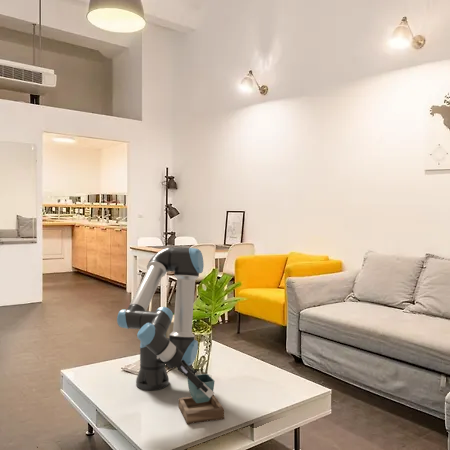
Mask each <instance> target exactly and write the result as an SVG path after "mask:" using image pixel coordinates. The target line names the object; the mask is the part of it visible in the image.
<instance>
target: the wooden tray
mask: <svg viewBox="0 0 450 450" xmlns="http://www.w3.org/2000/svg"><path fill="white" fill-rule="evenodd" d="M178 409H179V412H180V414H181V415H182V417H183V419H184V421H185V424H186V425H193V424H200V423H201V424H202V423H207V422H214V421H222V420H225V408H224V407H223V405H222V404H221V403H220V401H219V400H218V398H217V397H216V396H215V393H214V394H213V395H212V397H211V398H210V400H209V401H208V402H203V403H196V402H195V401H194V400H193V398H192V396H185V397H179V398H178Z"/></svg>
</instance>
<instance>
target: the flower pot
mask: <svg viewBox="0 0 450 450" xmlns="http://www.w3.org/2000/svg"><path fill="white" fill-rule="evenodd" d="M196 376H197V377H198V378H199V379H200V380H201V381H202V382H203V383H205V384H206V385H207V386H208V387H209V388H210V389H211V390H212V391H213V392H214V387H215V380H214V379H213V378H212V377H211V376H210V375H209V374H208V373H202V374H198V375H196ZM187 386H188V390H189V391H188V392H189V394H190V397H192V398H193V400H194V401H195V402H196V403H203V402H208V401H209V400H210V398H211V397H212V396H211V397H210V398H209V397H208V396H207V395H206V394H205V393H203V392H202V391H201V390H200V389H198V390H197V387H196V386H195V385H194V384H193V383H192V382H191V381H190V380H189V379H188V378H187Z"/></svg>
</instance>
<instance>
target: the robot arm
mask: <svg viewBox="0 0 450 450" xmlns="http://www.w3.org/2000/svg"><path fill="white" fill-rule="evenodd" d="M204 265H205V264H204V256H203V253H202V251H201V250H200V249H198V248H195V247H176V246H175V247H173V246H168V247H164V248H163V249H161V250H159V251H157V253H155V254H154V255H153V256H152V257H151V258H150V260H149V261H148V263H147V264H146V271H145V274H144V276H143V277H142V279H141V281H140V283H139V285H138V288H137V289H136V291H135V293H134V296H133V297H132V300H130V301H131V302H130V303H129V305H128V306H127V309H126V308H125V309H121V310H119V311H118V313H117V317H116V322H117V325H118V327H119V328H122V329H127V330H129V329H131V330H138V332H137V335H136V336H137V337H136V338H137V340H139V341H140V345H139V370H138V373H137V376H136V380H135V386H136V387H137V388H139V389H140V390H145V391H156V390H158V391H159V390H161V389H164V388H167V387H168V385H169V383H170V382H169V381H170V380H169V379H170V378H169V375H168V372H167V368H166V367H168V368H169V369H175V368H176V369H177V370H178V372H180V373H181V374H182V375H183V376H184V377H186V378H187V380H188V379H189V380H190V381H191V382H192V383H193V384H194V385H195V386H196V387H197V390H198V389H200V390H201V391H202V392H203V393H205V394H206V395H207V396H208V397H209V398H210V397H211V396H212V395H213V394H214V395H215V391H214V390H213V391H212V390H211V389H210V388H209V387H208V386H207V385H206V384H205V383H203V382H202V381H201V380H200V379H199V378H198V377H197V376H196V375H199V373H197V372H198V371H197V370H196V369H194V368H192V367H191V366H192V365H193V364H194V363H195V361H196V358H197V355H198V349H199V342H198V340H196V339H195V334H193V333H194V332H193V330H192V329H193V317H194V305H195V303H194V302H195V288H196V287H195V286H196V280H197V279H199V277H200V274H202V273H203V271H204ZM168 272H171V273H172V272H174V274H173V275H174V277H175V278H176V289H175V290H176V292H175V304H174V313H175V314H174V327H173V332H172V333H171V334H170V336H169V338H166V335H165V334H166V332H167V330H168V328H169V326H170V324H171V321H172V318H173V311H172V310H171V308H169V307H166V306H161V307H158V308H157V309H156V311H150V310H148V308H149V307H150V304H151V301H152V299H153V298H154V294H155V292H156V291H157V289H158V286H159V284H160V282H161V280H162V277H165V276H166V274H167V273H168ZM165 364H166V366H165Z"/></svg>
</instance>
